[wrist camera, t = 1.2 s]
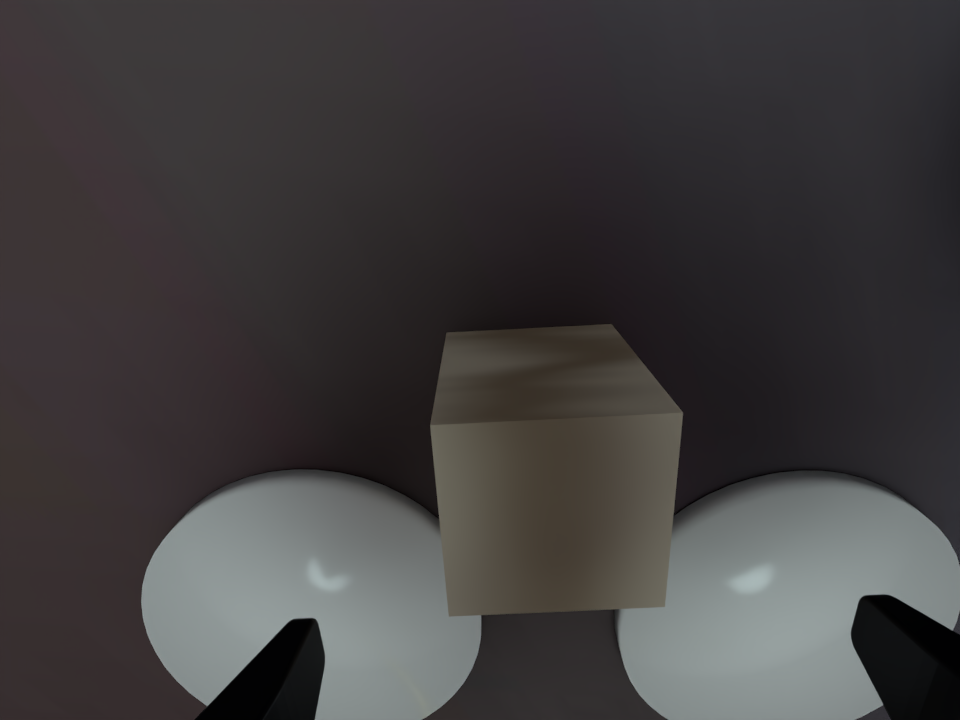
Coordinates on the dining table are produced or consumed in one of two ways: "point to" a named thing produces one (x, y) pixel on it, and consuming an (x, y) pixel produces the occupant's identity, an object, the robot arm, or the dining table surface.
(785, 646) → the shallow white plate
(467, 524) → the block
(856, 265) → the dining table surface
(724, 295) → the dining table surface
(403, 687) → the pale round disc
